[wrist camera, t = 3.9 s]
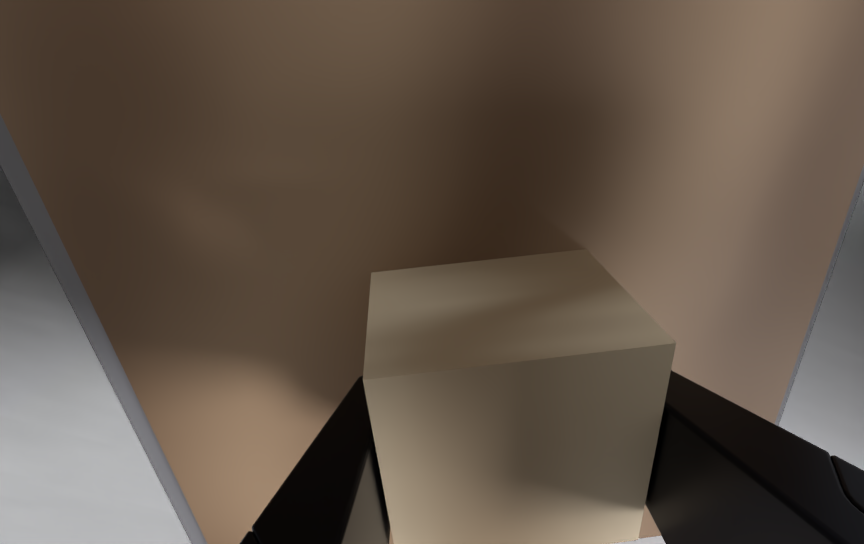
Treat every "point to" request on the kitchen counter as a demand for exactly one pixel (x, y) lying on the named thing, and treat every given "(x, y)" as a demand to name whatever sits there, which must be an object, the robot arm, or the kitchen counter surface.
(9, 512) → the kitchen counter surface
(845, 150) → the cover
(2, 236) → the kitchen counter surface
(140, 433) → the mat
